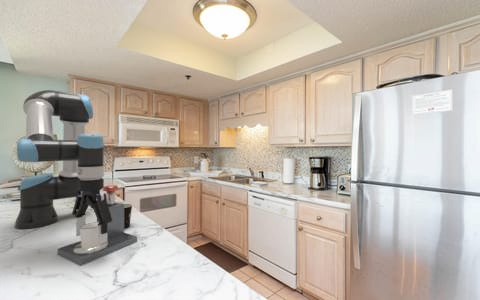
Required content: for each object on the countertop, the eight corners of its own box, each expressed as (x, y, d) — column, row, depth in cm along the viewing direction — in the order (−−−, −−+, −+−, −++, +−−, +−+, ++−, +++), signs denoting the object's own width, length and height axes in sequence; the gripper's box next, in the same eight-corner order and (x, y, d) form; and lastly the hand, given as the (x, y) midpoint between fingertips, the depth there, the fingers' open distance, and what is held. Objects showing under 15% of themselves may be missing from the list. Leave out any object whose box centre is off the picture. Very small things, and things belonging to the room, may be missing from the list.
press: (57, 254, 75) (57, 214, 75) (114, 234, 93) (113, 201, 93) (80, 265, 68) (80, 221, 68) (137, 241, 86) (136, 206, 86)
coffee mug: (123, 231, 96) (123, 209, 96) (106, 230, 98) (106, 207, 98) (140, 222, 107) (140, 202, 107) (125, 221, 109) (125, 201, 109)
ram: (100, 215, 87) (100, 186, 87) (113, 211, 92) (112, 184, 91) (108, 217, 85) (108, 187, 85) (120, 213, 89) (120, 185, 89)
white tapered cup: (87, 240, 79) (87, 222, 79) (106, 240, 80) (106, 221, 80) (74, 249, 73) (74, 229, 72) (95, 249, 73) (95, 228, 73)
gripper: (60, 177, 78) (61, 235, 79) (100, 183, 67) (100, 251, 67) (83, 174, 85) (83, 228, 85) (123, 179, 73) (123, 242, 74)
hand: (91, 238), depth 76 cm, fingers open, 13 cm apart
